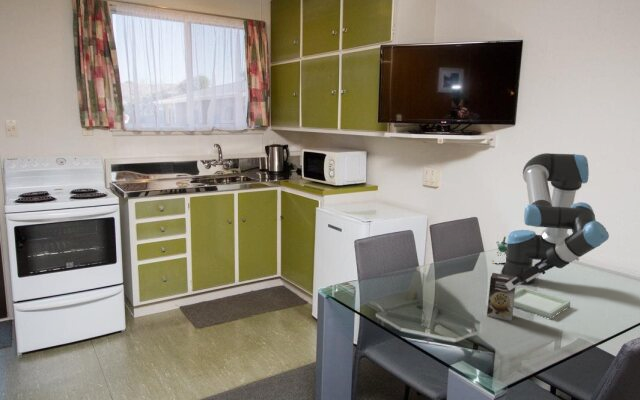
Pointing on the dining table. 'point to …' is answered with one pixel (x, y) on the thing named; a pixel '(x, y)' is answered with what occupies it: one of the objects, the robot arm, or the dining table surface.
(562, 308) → the tray
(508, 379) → the dining table surface
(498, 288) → the coffee box
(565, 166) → the robot arm
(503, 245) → the frog figurine
